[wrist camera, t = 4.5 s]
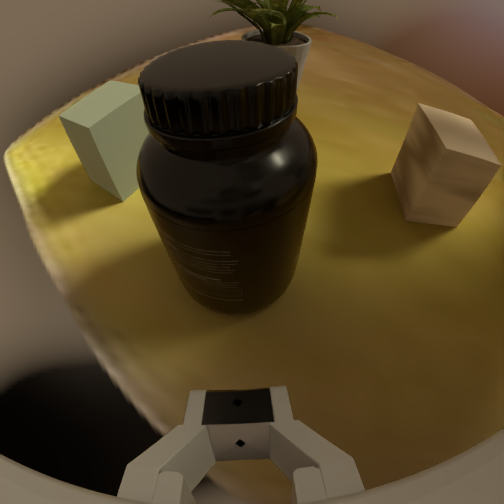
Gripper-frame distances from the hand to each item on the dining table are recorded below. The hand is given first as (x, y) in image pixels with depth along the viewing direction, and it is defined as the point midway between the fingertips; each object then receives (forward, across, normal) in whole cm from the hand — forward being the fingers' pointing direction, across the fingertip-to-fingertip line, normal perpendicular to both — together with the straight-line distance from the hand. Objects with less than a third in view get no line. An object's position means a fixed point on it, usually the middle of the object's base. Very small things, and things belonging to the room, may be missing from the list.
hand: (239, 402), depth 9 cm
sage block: (+16, +9, -8) cm, 20 cm away
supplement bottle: (+10, 0, -2) cm, 10 cm away
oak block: (+13, -15, -5) cm, 20 cm away
